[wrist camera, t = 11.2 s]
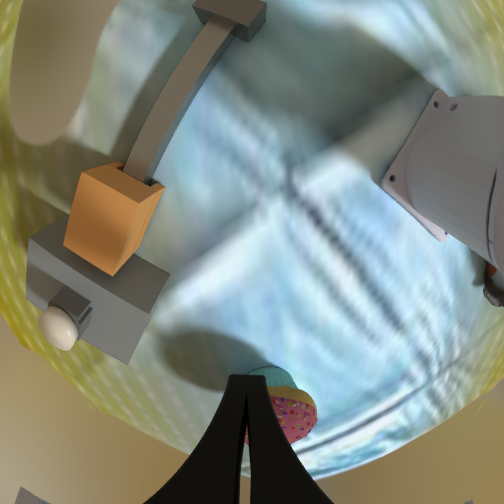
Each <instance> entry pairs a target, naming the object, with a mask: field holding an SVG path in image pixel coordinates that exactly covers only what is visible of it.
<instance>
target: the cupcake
mask: <svg viewBox="0 0 504 504" xmlns="http://www.w3.org/2000/svg"><path fill="white" fill-rule="evenodd" d="M248 375H264V376H265V377H266V383H267V388H268V392H269V396H270V399H271V402H272V405H273V408H274V411H275V413H276V415H277V418H278V420H279V423H280V425H281V427H282V429H283V432H284V434H285V436H286V438H287V440H288V441H289V443H290V445H291V444H292V443H294V442H296V441H298V440H300V439H302V438H303V437H306V436H307V434H308V433H309V432H310V431H311V429H312V428H313V427H314V425H316V422H317V420H318V418H317V409H316V405H315V403H314V401H313V399H312V398H311V396H310V395H309V394H308V393H306V392H305V391H303V390H300V389H298V387H297V386H296V384H295V382H294V381H293V379H292V377H291V375H290V374H289V373H288V372H287V371H285V370H283V369H280V368H275V367H264V368H259V369H256V370H254V371H252V372H250V373H249V374H248ZM316 426H317V425H316ZM245 443H246V444H247V445H249V443H248V430H247V428H246V435H245Z"/></svg>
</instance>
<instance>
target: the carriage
mask: <svg viewBox="0 0 504 504" xmlns="http://www.w3.org/2000/svg"><path fill="white" fill-rule="evenodd" d="M123 167H124V164H122V163H120V162H118V161H117V162H113V163H109V164H105V165H102V166H98V167H95V168H91V169H88V170H85V171H82V173H81V176H80V179H79V182H78V186H77V189H76V193H75V196H74V200H73V204H72V207H71V211H70V215H69V220H68V224H67V229H66V233H65V238H64V243H63V245H64V246H65V247H67V248H68V249H70V250H71V251H73V252H74V253H76V254H77V255H79V256H81V257H82V258H84V259H85V260H87V261H88V262H90V263H91V264H93V265H95V266H96V267H98V268H100V269H101V270H103V271H104V272H106V273H108V274H109V275H111V276H113V275H114V274H115V273H116V272H117V271H118V270H119V269H120V267H121V266H122V265H123V264H124V263H125V262H126V261H127V260H128V259H129V257H130V256H131V255H132V254H133V253H134V252H135V251H136V250H137V249H138V248H139V246H140V243H141V241H142V238H143V236H144V233H145V231H146V229H147V226H148V224H149V222H150V219H151V217H152V215H153V212H154V210H155V208H156V206H157V204H158V201H159V199H160V197H161V195H162V193H163V191H164V189H165V186H163V185H161V184H159V183H156V184H154V185H152V186H151V187H150V186H148V185H146V184H144V183H142V182H141V181H139V180H137V179H135V178H133V177H131V176H129V175H128V174H126V173H124V172H122V169H123Z"/></svg>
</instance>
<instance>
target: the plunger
mask: <svg viewBox="0 0 504 504" xmlns="http://www.w3.org/2000/svg"><path fill="white" fill-rule="evenodd" d="M73 321H74V320H72V319H71V318H70V317H69V316H68V315H67V314H66V313H65V312H64V311H62V310H61V309H59V308H57V307H53V306H50V307H48V308H47V309H46V310H45V311H44V312H43V313H42V314H41V315H40V316H39V318H38V325H39V328H40V330H41V332H42V334H43V335H44V336H45V338H46V339H47V340H48V341H49V342H50V343H51V344H52V345H54V346H55V347H57V348H59V349H61V350H69V349H70V348H71V347H72V346H73V344H74V343H75V341H76V340H77V338H78V330H77V328H76V326H75V324H74V322H73Z"/></svg>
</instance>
